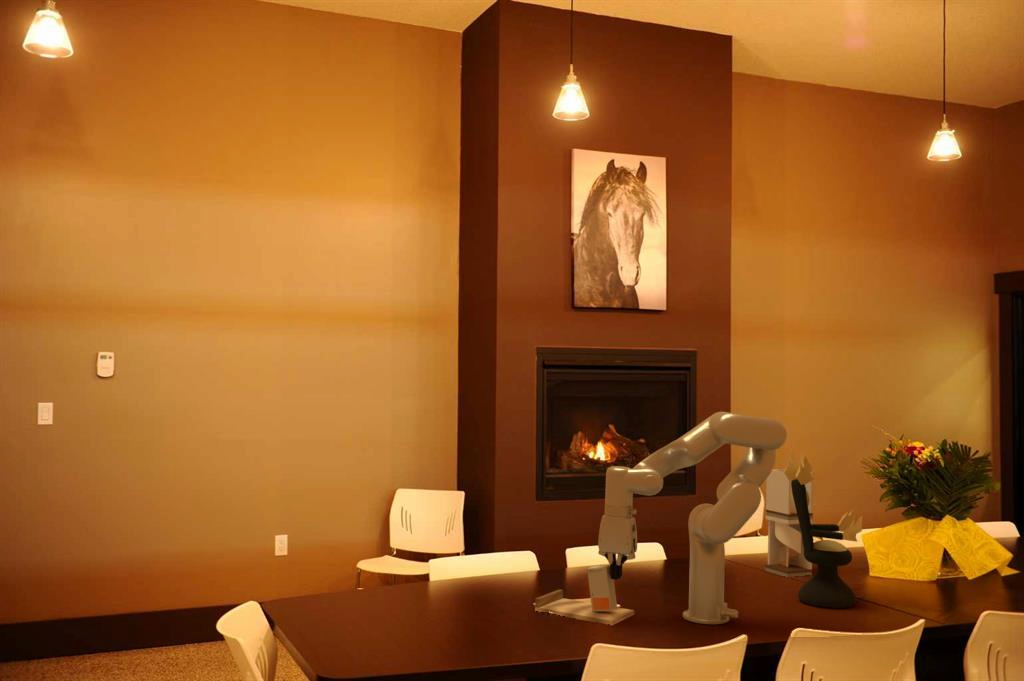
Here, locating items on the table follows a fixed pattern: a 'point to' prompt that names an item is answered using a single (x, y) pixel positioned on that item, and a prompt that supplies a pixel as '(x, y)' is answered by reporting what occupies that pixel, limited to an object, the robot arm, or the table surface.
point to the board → (578, 609)
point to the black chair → (822, 544)
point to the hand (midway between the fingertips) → (615, 578)
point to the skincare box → (601, 588)
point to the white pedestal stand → (785, 527)
